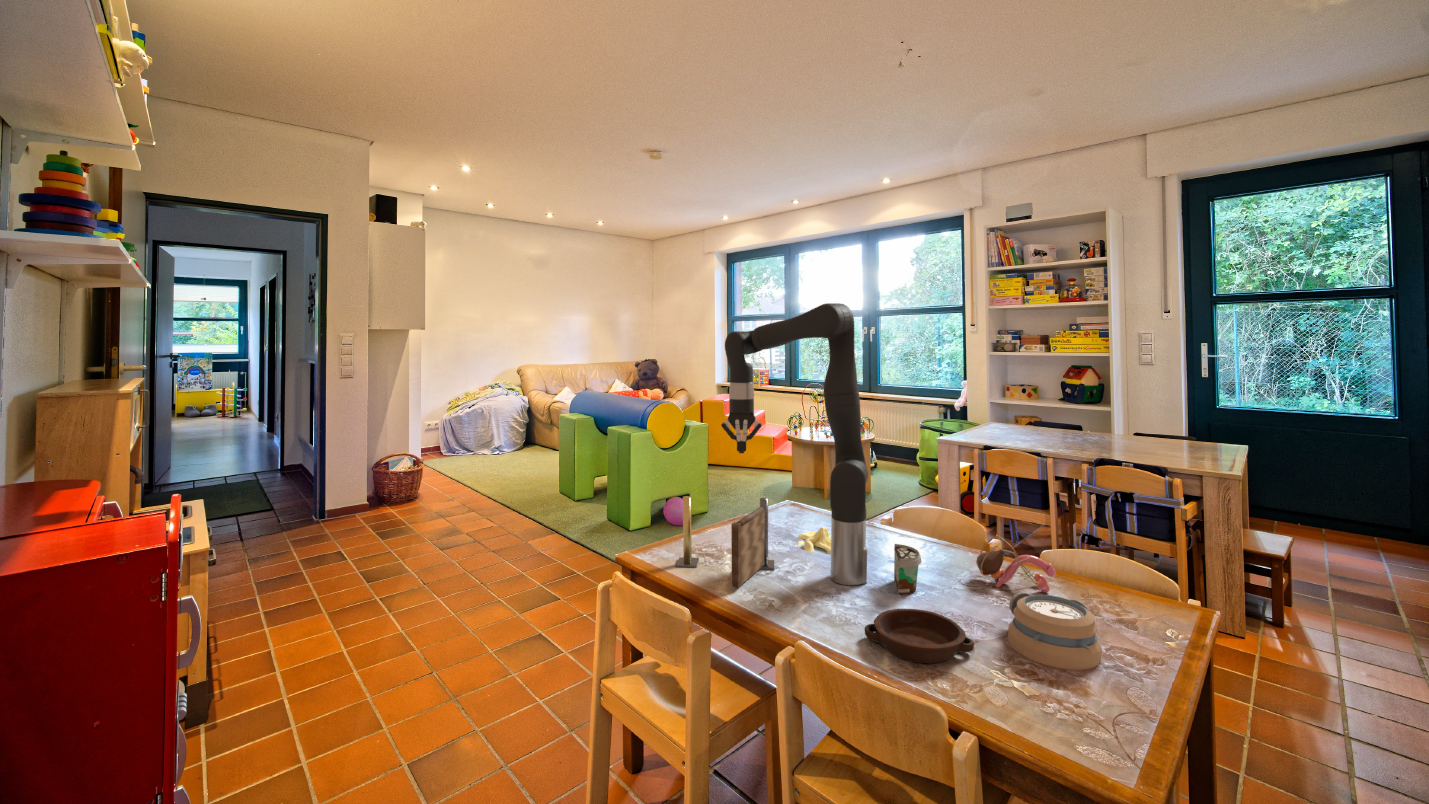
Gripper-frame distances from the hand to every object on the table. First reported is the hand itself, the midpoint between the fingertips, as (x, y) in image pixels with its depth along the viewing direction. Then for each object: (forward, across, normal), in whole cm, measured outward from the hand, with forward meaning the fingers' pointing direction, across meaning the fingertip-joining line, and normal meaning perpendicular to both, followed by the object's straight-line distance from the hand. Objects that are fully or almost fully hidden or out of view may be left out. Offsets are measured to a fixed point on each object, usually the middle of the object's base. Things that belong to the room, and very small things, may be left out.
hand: (741, 452), depth 178 cm
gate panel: (+30, +3, -22) cm, 37 cm away
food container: (+31, +45, -25) cm, 60 cm away
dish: (+32, +40, -55) cm, 75 cm away
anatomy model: (+31, +74, -20) cm, 82 cm away
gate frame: (+31, -4, -12) cm, 34 cm away
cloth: (+32, +25, +7) cm, 41 cm away
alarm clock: (+31, +69, -50) cm, 91 cm away
